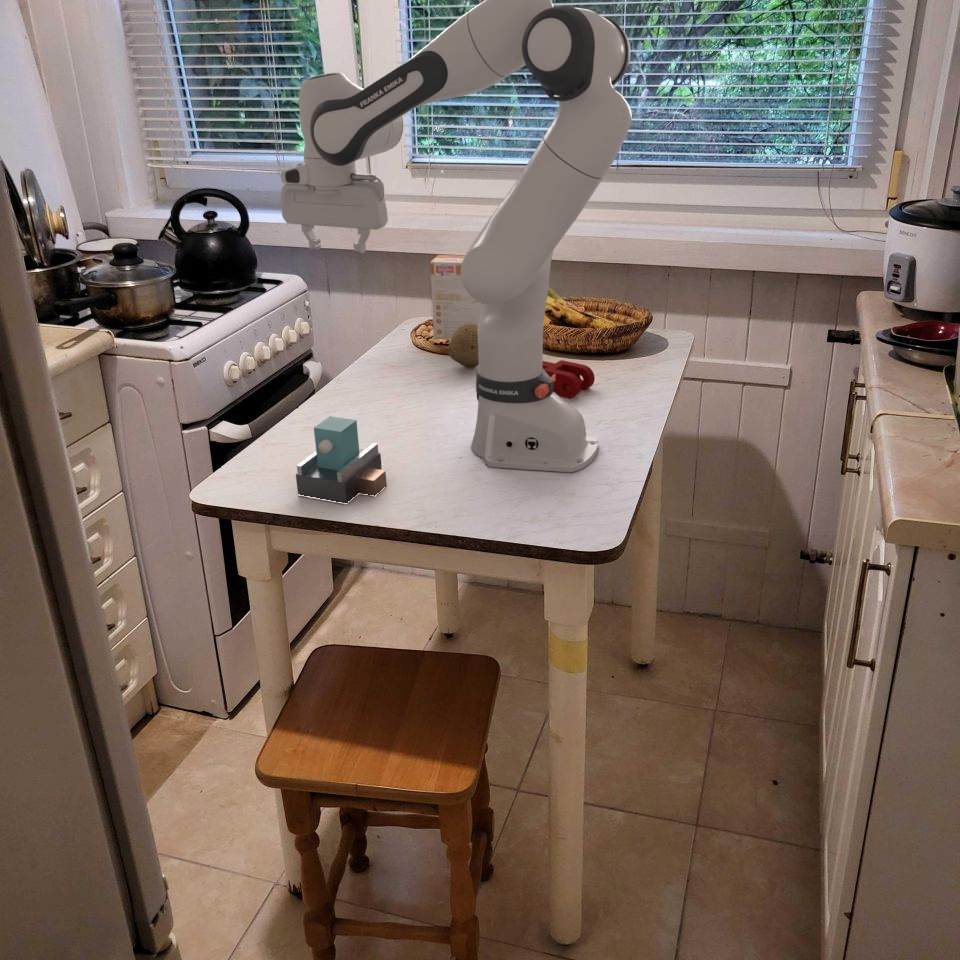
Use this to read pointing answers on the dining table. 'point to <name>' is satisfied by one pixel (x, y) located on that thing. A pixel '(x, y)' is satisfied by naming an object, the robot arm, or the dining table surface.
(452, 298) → the coffeecake box
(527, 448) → the robot arm
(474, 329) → the natural sponge
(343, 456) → the block
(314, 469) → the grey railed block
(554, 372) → the mechanical linkage
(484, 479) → the dining table surface
